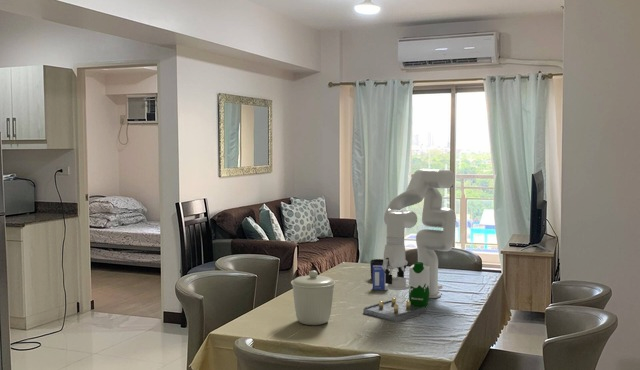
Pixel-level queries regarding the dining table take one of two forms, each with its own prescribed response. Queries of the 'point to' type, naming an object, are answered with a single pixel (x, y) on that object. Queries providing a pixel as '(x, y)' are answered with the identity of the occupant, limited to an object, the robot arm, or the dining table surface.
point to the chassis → (394, 310)
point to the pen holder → (375, 263)
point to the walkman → (378, 278)
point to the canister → (313, 298)
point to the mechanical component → (397, 284)
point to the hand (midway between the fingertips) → (394, 282)
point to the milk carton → (419, 284)
